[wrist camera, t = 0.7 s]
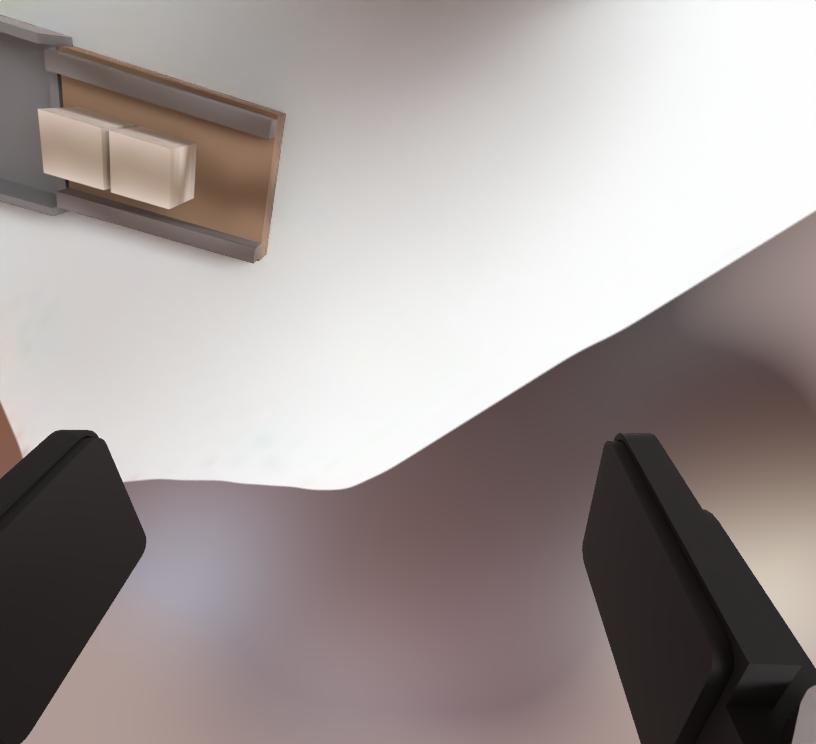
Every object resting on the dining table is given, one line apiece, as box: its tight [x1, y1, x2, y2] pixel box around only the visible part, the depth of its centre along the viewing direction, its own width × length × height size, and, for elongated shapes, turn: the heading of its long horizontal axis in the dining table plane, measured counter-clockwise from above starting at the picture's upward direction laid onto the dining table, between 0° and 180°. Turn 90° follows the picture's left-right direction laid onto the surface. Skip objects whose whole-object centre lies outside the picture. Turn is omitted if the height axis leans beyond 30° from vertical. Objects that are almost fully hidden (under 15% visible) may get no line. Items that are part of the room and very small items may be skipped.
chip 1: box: [38, 107, 134, 190], centre depth 34 cm, size 4×4×4 cm
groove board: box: [44, 45, 285, 263], centre depth 36 cm, size 11×15×4 cm
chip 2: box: [109, 126, 197, 209], centre depth 35 cm, size 4×4×4 cm
